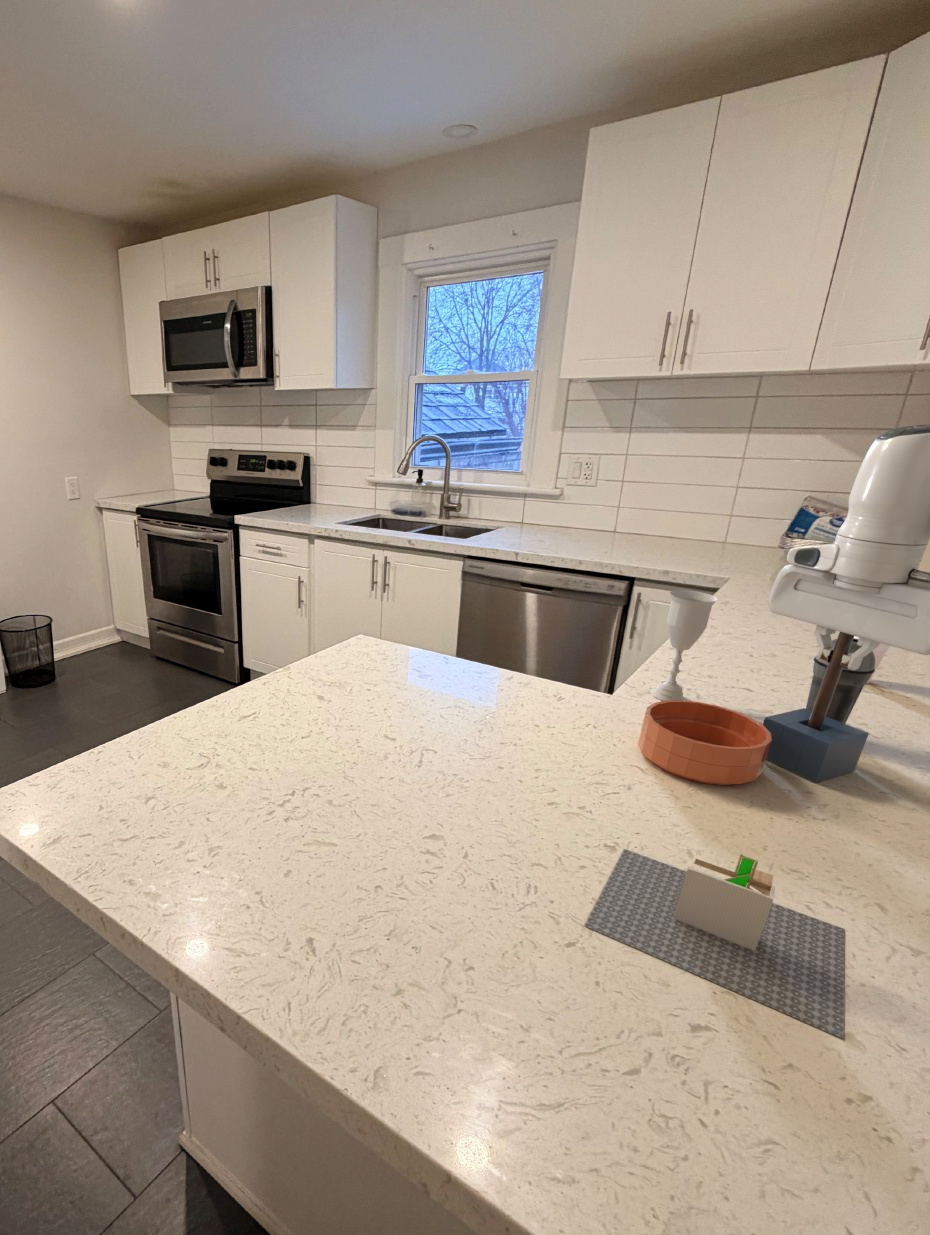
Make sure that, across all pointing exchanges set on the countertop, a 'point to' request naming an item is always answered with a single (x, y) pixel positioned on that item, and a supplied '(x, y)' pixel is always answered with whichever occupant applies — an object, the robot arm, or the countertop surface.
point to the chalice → (683, 633)
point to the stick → (830, 681)
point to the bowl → (704, 742)
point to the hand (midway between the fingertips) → (836, 664)
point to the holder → (813, 745)
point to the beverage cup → (842, 684)
